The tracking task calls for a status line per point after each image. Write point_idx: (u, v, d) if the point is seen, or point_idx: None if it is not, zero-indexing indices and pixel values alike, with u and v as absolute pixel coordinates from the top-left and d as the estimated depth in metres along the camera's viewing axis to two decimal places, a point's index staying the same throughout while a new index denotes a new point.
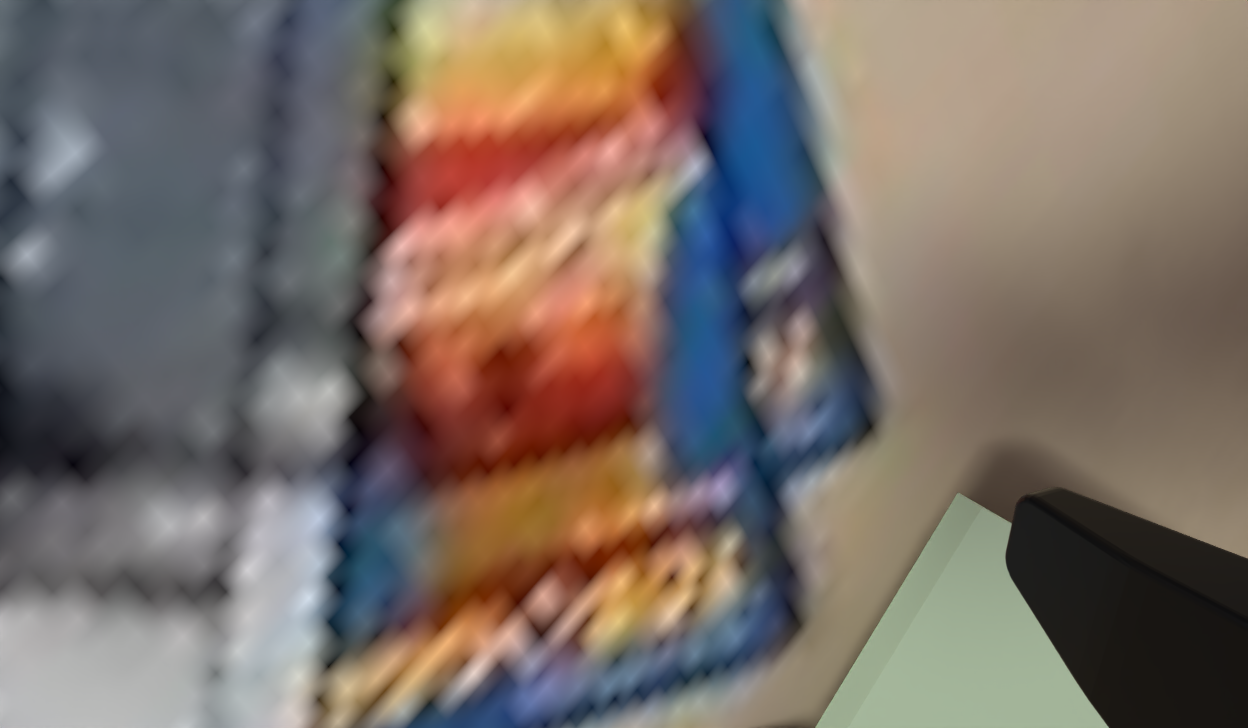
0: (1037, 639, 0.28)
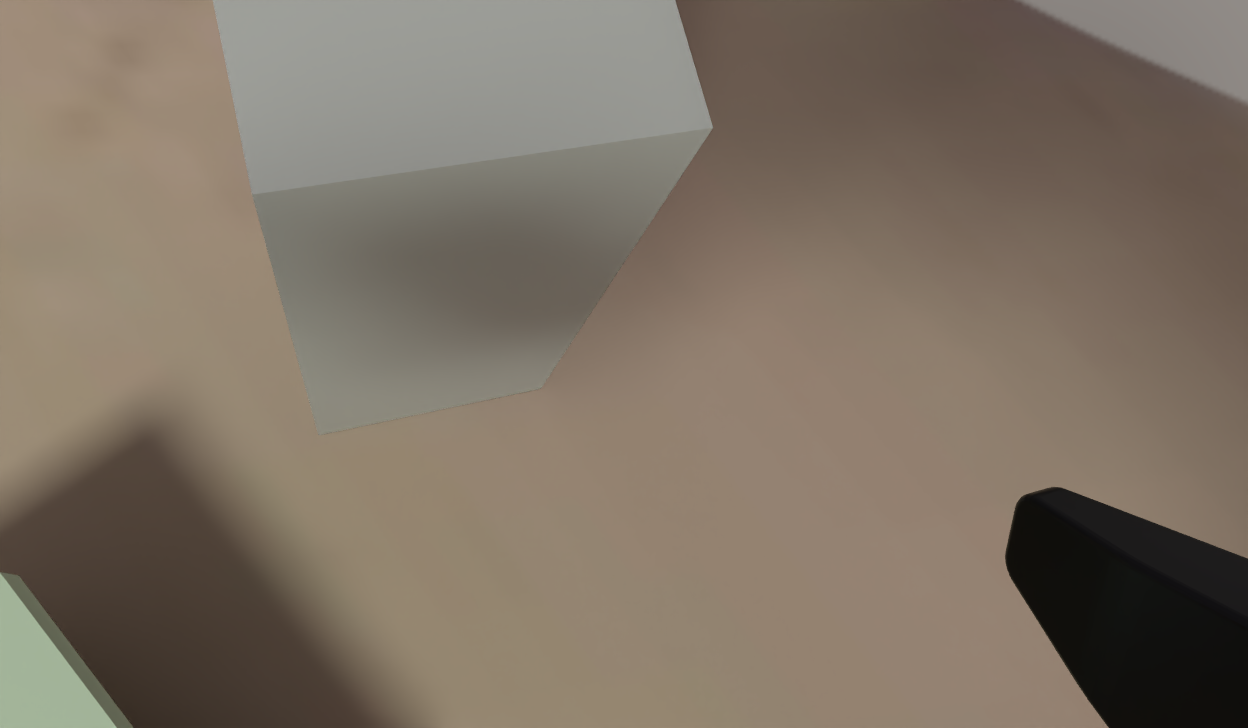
0: None
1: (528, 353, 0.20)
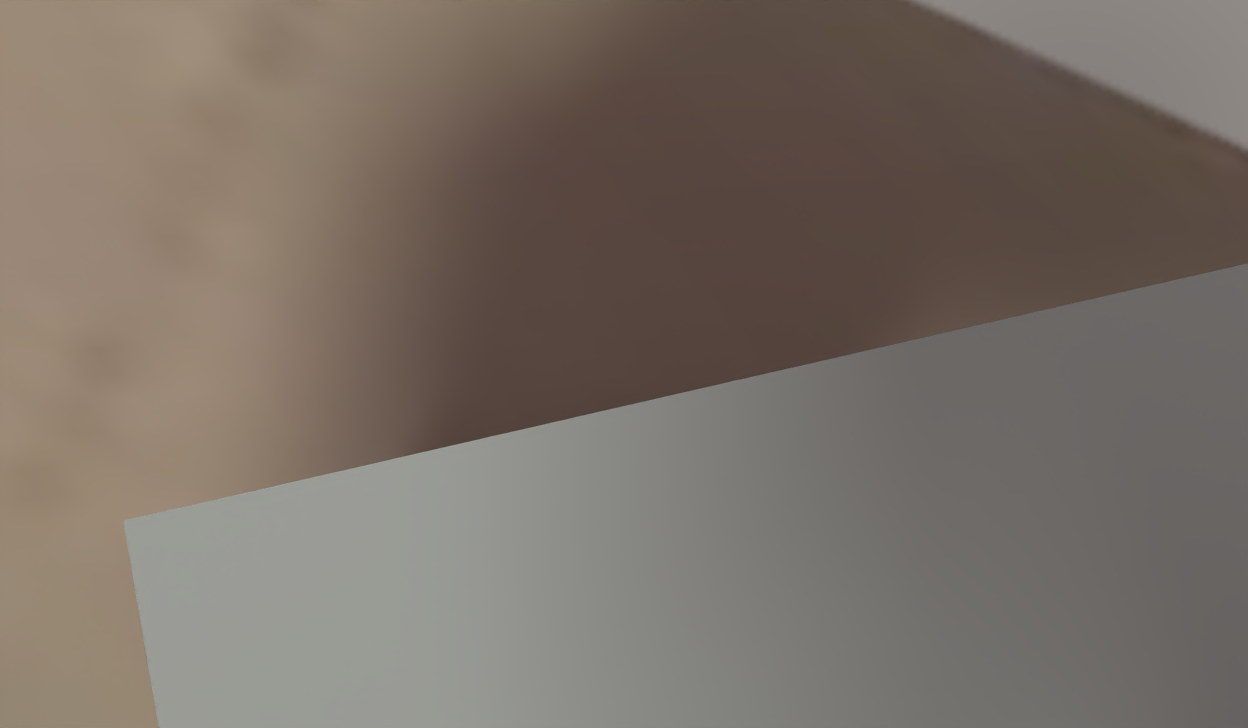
0: None
1: None
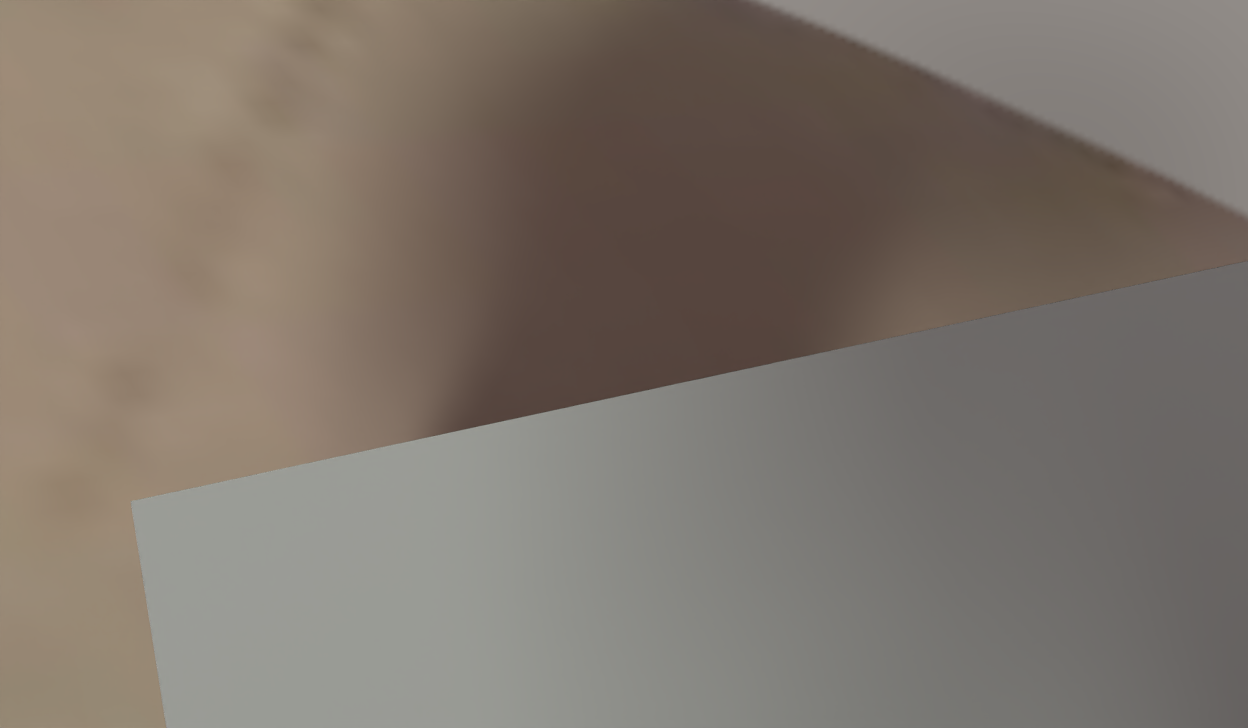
0: None
1: None
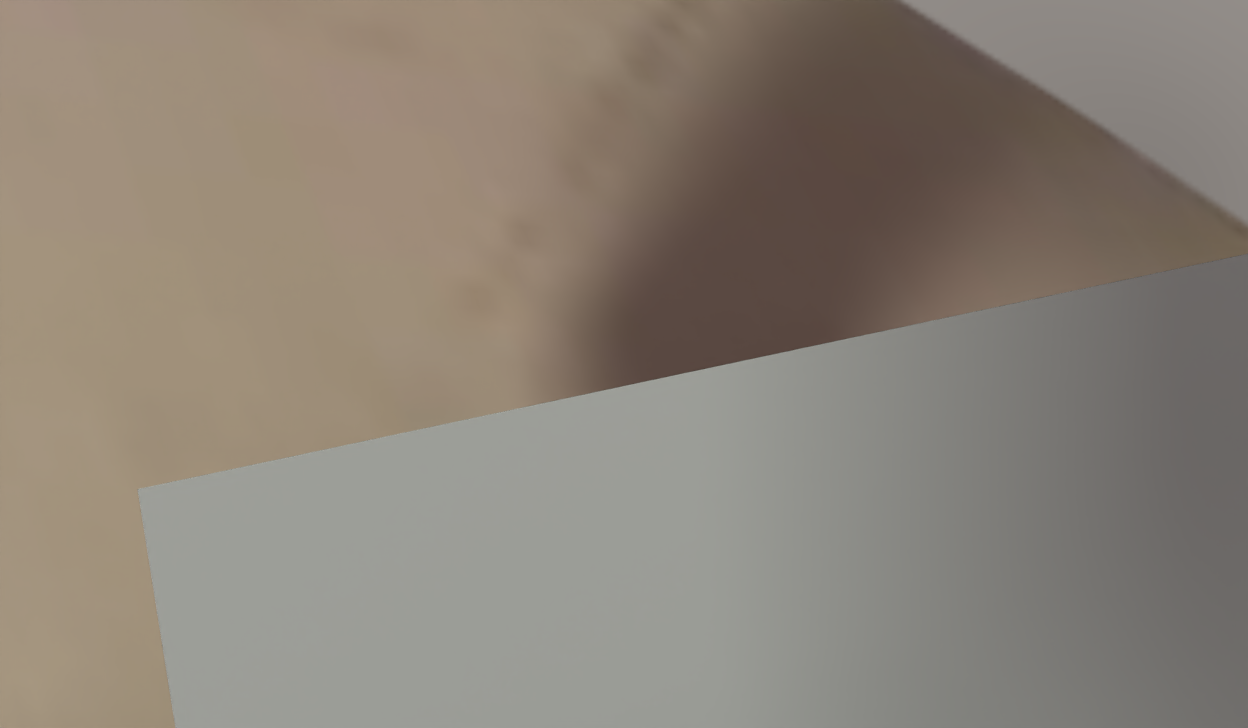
0: None
1: None
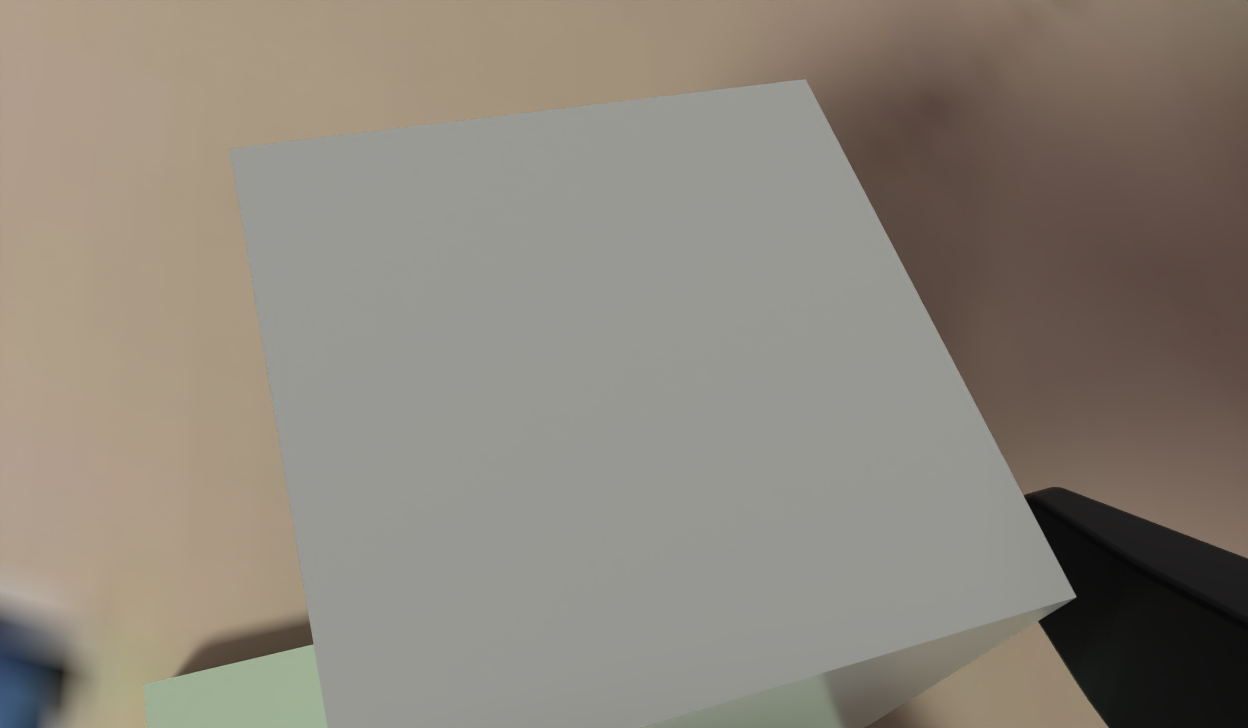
0: None
1: None
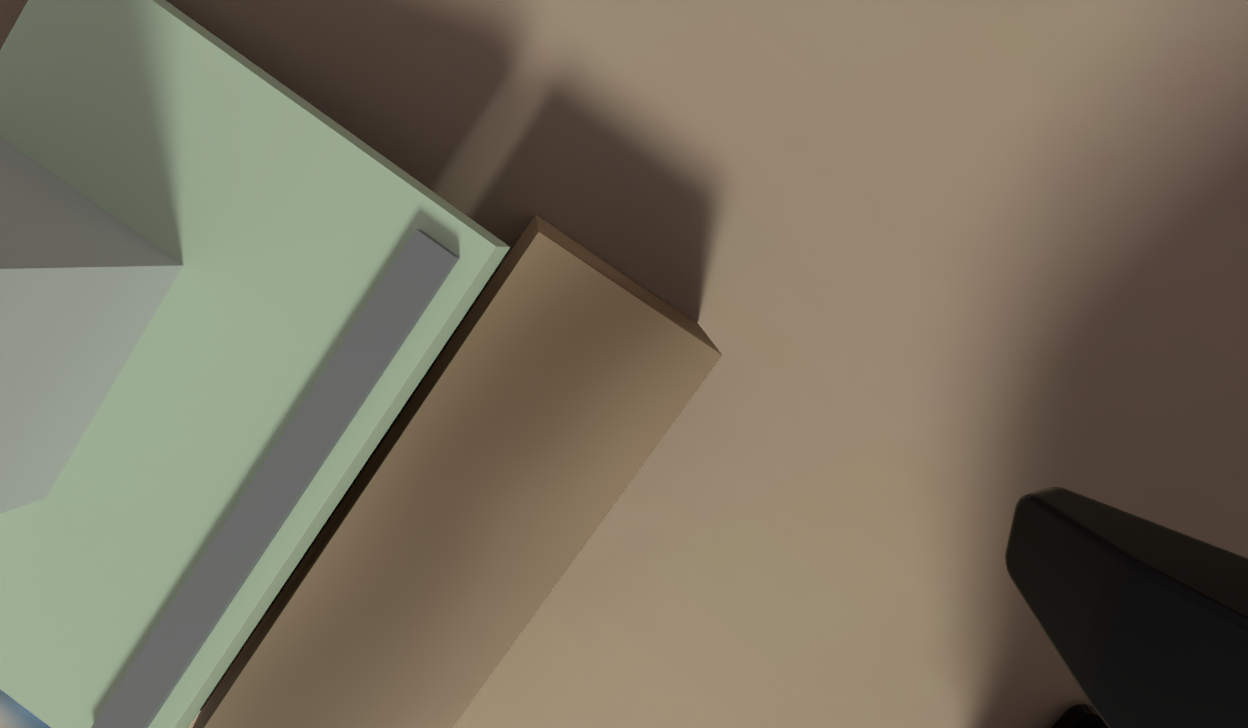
0: None
1: (5, 318, 0.14)
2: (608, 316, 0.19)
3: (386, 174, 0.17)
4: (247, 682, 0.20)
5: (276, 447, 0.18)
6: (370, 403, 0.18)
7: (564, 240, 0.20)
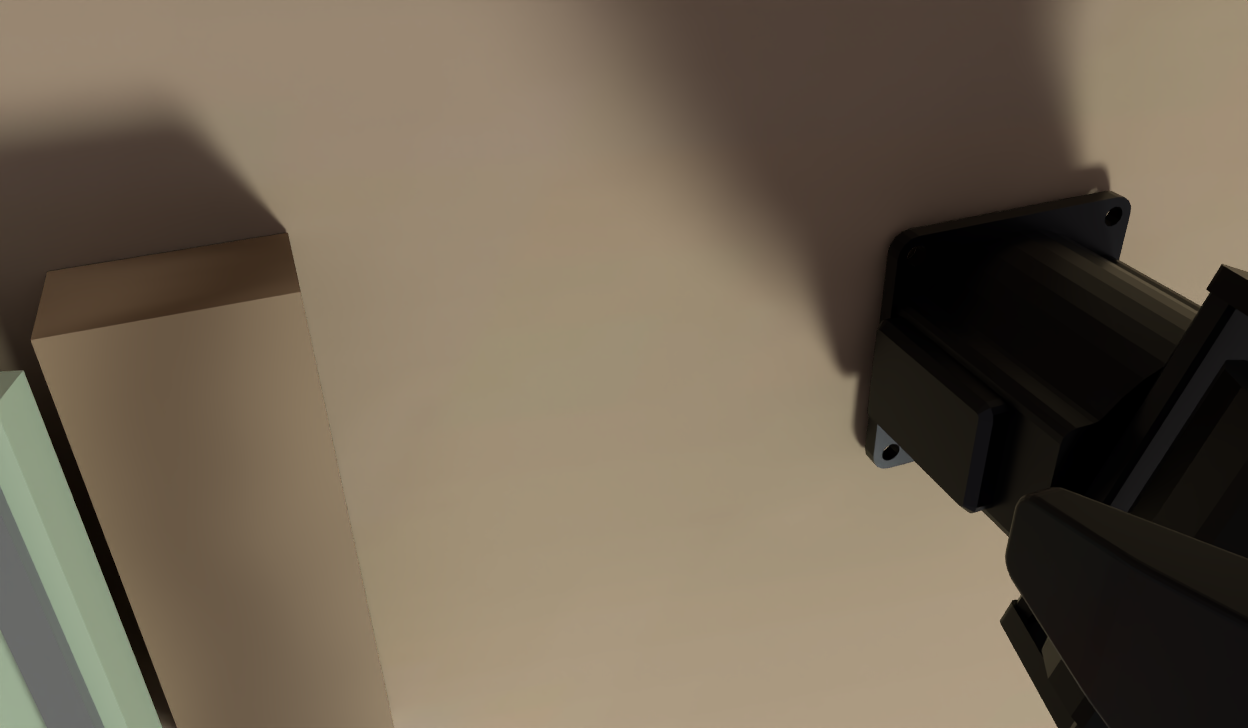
0: None
1: None
2: (170, 348, 0.17)
3: None
4: None
5: (18, 663, 0.18)
6: (48, 582, 0.17)
7: (80, 295, 0.17)
